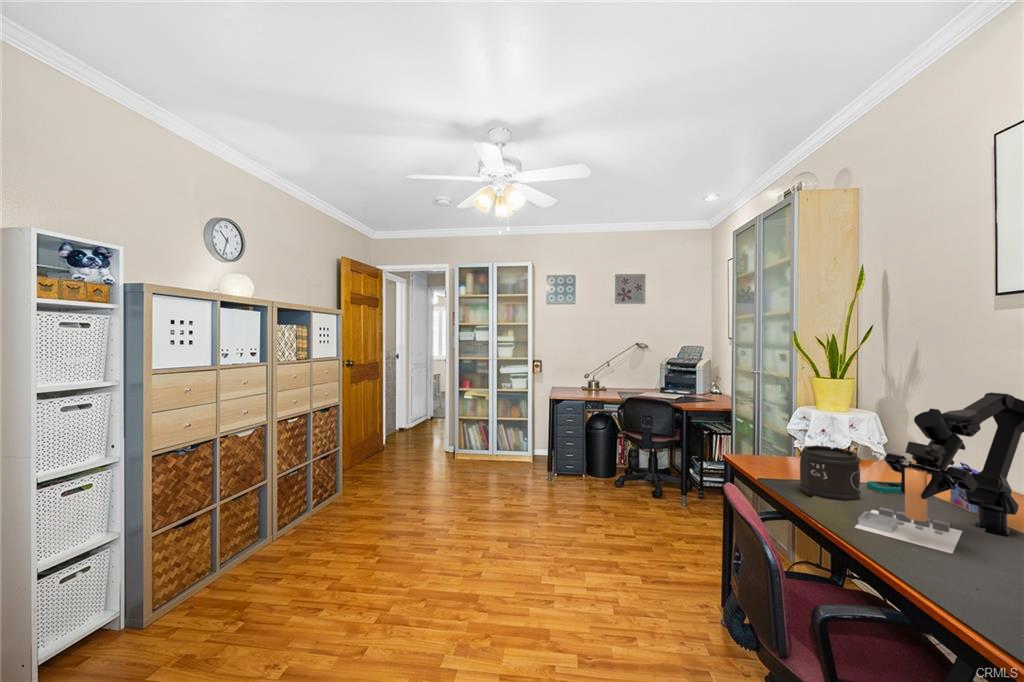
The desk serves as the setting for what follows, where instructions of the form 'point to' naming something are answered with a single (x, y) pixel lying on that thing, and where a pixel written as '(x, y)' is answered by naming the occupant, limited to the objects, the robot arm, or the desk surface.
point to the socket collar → (878, 522)
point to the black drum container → (830, 472)
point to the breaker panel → (919, 531)
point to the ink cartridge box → (963, 493)
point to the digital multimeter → (885, 486)
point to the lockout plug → (915, 494)
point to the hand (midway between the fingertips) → (912, 495)
